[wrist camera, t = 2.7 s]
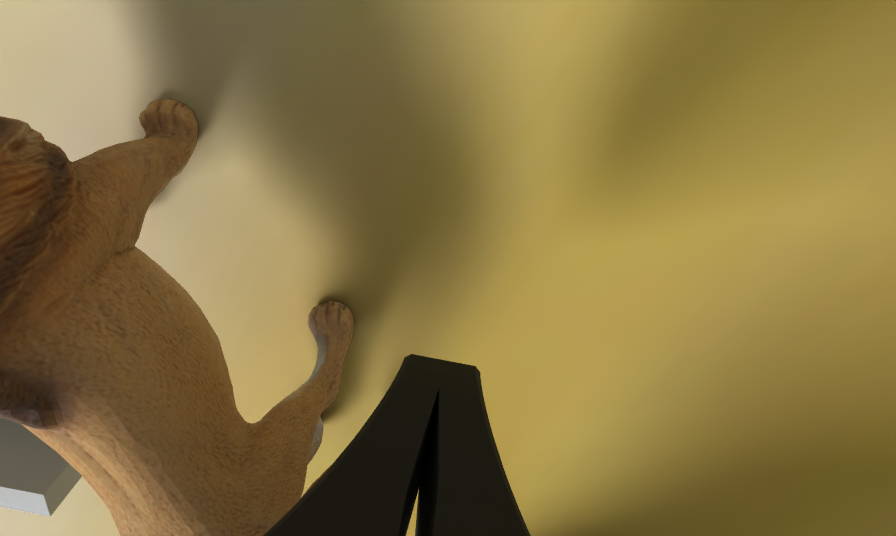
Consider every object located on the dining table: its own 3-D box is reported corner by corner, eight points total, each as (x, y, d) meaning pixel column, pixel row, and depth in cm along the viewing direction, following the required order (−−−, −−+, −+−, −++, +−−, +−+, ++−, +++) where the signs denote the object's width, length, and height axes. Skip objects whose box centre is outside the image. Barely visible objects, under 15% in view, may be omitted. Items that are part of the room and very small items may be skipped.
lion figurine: (-76, 97, 14) (-835, 324, 6) (45, -63, 12) (-866, -26, 4) (345, 470, 19) (226, 849, 11) (479, 404, 17) (446, 813, 9)
